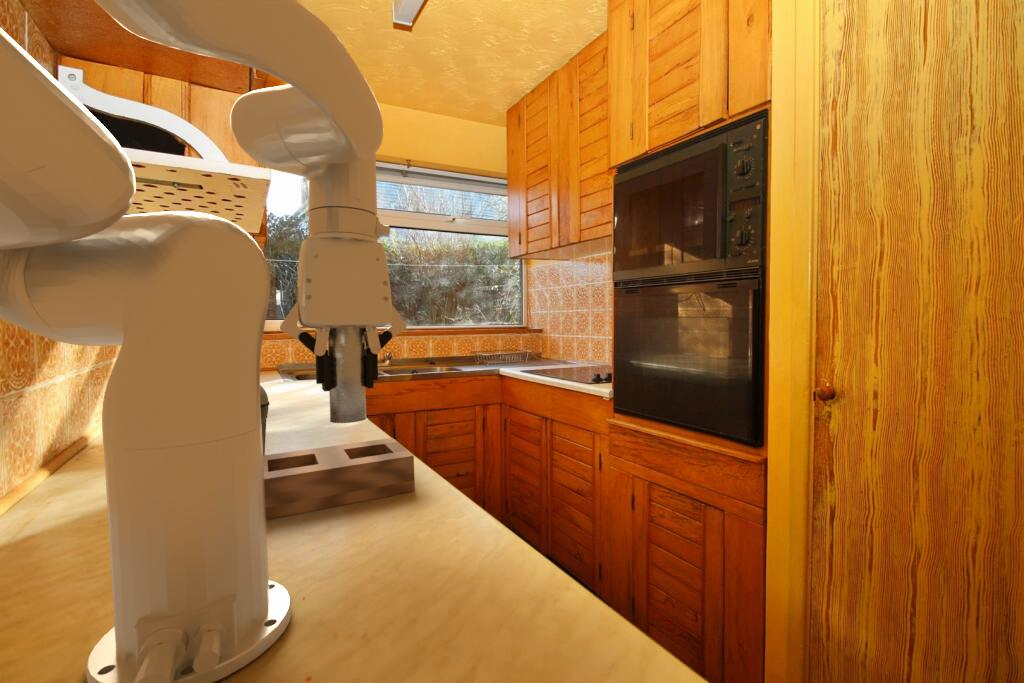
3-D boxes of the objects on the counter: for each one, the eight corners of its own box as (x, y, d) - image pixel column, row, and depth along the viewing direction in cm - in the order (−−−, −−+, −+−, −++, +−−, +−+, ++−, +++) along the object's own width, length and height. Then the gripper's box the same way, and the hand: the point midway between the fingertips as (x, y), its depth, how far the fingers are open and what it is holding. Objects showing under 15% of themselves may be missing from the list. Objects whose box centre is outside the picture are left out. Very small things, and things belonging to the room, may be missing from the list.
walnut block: (393, 468, 76) (392, 437, 76) (414, 490, 65) (413, 455, 65) (253, 491, 67) (251, 457, 66) (251, 522, 56) (249, 481, 56)
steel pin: (369, 420, 54) (367, 316, 54) (332, 424, 52) (329, 316, 52) (362, 415, 58) (360, 318, 57) (328, 419, 56) (325, 318, 55)
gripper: (406, 242, 62) (409, 381, 62) (262, 231, 54) (266, 390, 54) (423, 231, 55) (426, 386, 55) (262, 216, 47) (267, 398, 47)
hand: (347, 387), depth 55 cm, fingers closed on steel pin, 4 cm apart
